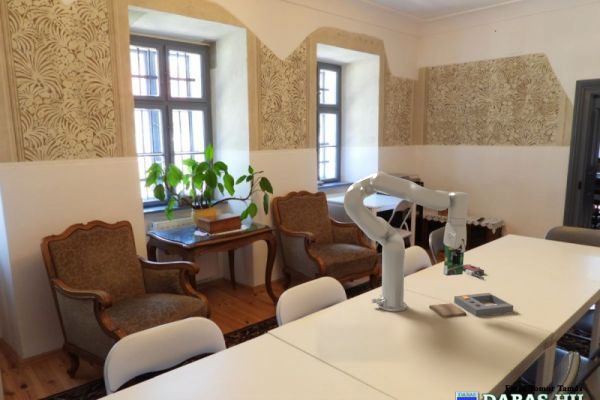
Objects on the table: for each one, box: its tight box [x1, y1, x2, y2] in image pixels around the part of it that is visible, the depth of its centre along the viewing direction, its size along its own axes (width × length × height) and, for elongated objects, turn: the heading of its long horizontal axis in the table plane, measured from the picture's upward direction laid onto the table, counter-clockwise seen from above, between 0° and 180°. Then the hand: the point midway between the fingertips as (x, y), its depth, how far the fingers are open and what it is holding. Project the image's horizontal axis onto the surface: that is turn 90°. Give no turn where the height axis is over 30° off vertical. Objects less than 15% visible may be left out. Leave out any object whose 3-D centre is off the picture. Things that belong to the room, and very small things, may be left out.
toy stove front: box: [453, 292, 514, 317], centre depth 187 cm, size 18×16×4 cm
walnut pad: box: [428, 302, 467, 319], centre depth 183 cm, size 11×11×1 cm
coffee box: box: [443, 244, 465, 277], centre depth 181 cm, size 8×3×13 cm, turn 105°
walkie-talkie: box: [463, 263, 485, 280], centre depth 233 cm, size 9×4×20 cm
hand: (453, 262), depth 181 cm, fingers closed on coffee box, 3 cm apart
